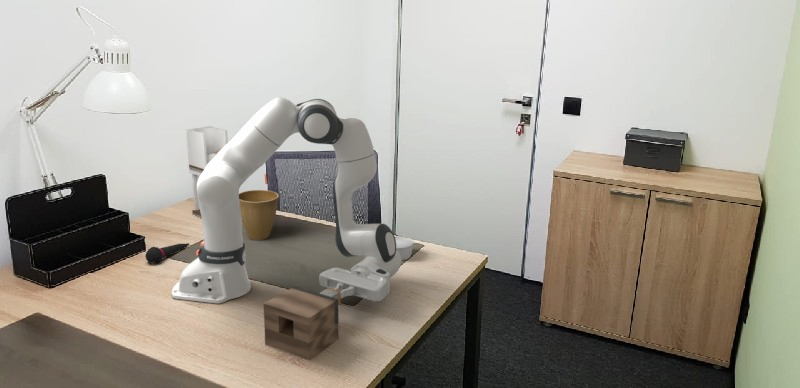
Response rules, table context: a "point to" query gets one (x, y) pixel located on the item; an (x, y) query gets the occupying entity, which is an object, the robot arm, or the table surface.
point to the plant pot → (258, 212)
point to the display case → (203, 153)
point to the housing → (301, 322)
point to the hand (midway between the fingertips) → (337, 294)
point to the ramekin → (404, 247)
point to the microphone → (162, 252)
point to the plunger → (332, 294)
